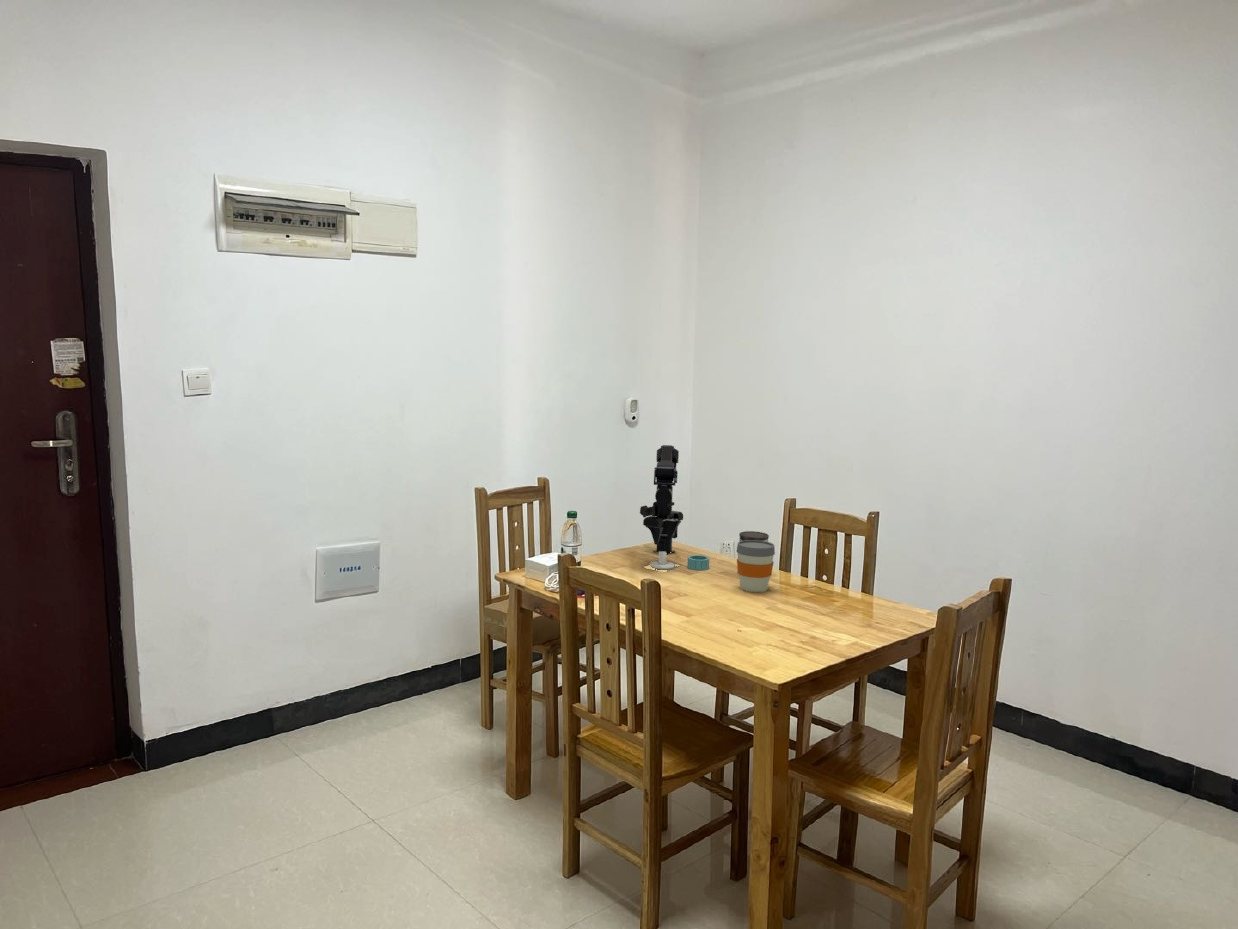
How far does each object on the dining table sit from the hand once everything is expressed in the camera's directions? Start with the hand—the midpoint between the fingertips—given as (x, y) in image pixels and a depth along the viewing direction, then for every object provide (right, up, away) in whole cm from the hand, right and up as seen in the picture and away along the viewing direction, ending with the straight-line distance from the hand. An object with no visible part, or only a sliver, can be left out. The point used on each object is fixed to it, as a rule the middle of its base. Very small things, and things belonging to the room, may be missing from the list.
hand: (662, 542), depth 309 cm
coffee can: (+32, -11, -3) cm, 34 cm away
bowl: (+13, -10, +1) cm, 16 cm away
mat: (0, -9, +1) cm, 9 cm away
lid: (0, -9, +1) cm, 9 cm away
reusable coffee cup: (+29, -13, -23) cm, 39 cm away
